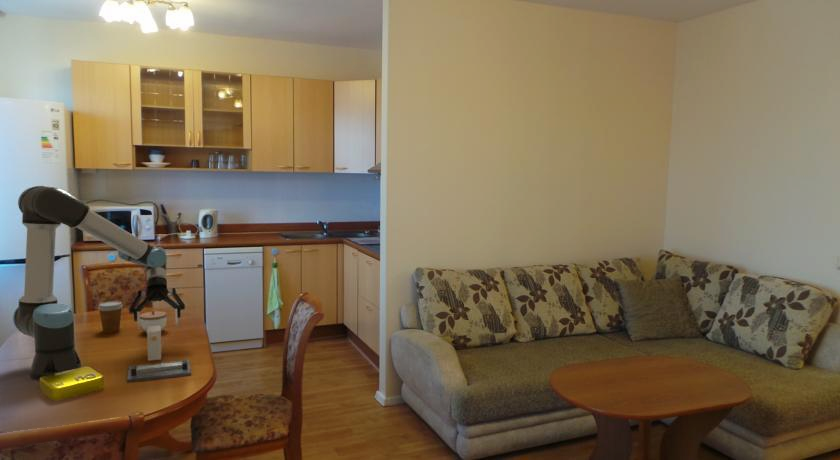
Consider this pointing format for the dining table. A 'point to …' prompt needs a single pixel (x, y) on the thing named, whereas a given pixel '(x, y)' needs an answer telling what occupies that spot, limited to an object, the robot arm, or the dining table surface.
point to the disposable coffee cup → (110, 315)
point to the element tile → (71, 383)
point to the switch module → (154, 342)
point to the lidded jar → (153, 319)
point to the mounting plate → (158, 370)
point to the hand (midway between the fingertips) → (157, 326)
